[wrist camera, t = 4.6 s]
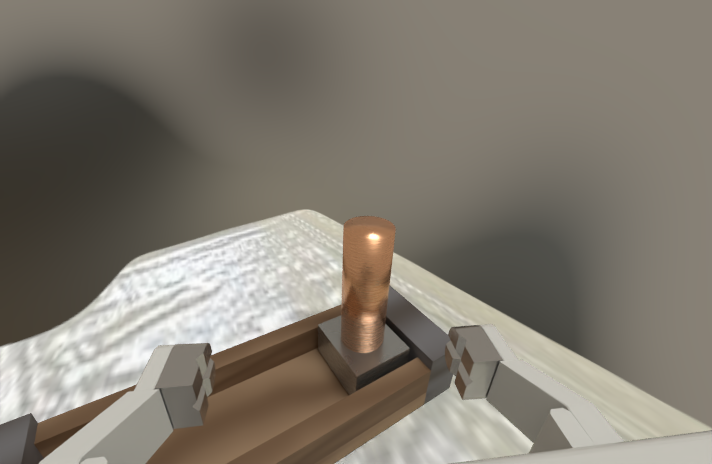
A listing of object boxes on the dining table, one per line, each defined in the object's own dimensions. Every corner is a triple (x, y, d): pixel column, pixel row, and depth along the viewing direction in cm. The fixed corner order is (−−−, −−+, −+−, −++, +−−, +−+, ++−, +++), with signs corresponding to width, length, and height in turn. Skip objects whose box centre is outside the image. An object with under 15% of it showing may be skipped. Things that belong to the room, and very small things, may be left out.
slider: (405, 374, 28) (427, 237, 22) (355, 403, 25) (364, 257, 19) (364, 329, 32) (373, 204, 26) (318, 350, 30) (315, 217, 24)
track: (449, 387, 29) (460, 345, 27) (-53, 717, 14) (-130, 688, 12) (380, 318, 36) (383, 280, 34) (1, 486, 21) (-40, 439, 19)
